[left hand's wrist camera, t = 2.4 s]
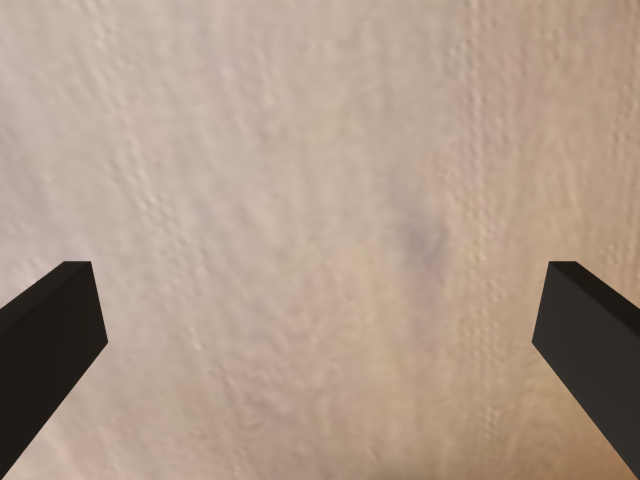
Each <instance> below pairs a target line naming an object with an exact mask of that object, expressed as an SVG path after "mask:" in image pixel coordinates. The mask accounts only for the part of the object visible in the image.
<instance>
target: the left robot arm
mask: <svg viewBox="0 0 640 480" xmlns="http://www.w3.org/2000/svg"><path fill="white" fill-rule="evenodd" d="M107 343H108V339H107V334H106V330H105V325H104V320H103V316H102V311H101V306H100V302H99V297H98V292H97V288H96V283H95V278H94V274H93V269H92V264H91V261H64V262H63V263H61V264H60V265H59V266H57V267H56V268H55V269H53V270H52V271H51V272H49V273H48V274H47V275H45V276H44V277H43V278H41V279H40V280H39V281H37V282H36V283H35V284H33V285H32V286H30V287H29V288H28V289H26V290H25V291H24V292H22V293H21V294H20V295H18V296H17V297H16V298H14V299H13V300H12V301H10V302H9V303H8V304H6V305H5V306H4V307H2V308H1V309H0V480H2V479H3V477H4V476H5V475H6V473H7V472H8V471H9V470H10V468H11V467H12V466H13V464H14V463H15V462H16V461H17V459H18V458H19V457H20V455H21V454H22V453H23V451H24V450H25V449H26V448H27V446H28V445H29V444H30V442H31V441H32V440H33V439H34V437H35V436H36V435H37V433H38V432H39V431H40V430H41V428H42V427H43V426H44V424H45V423H46V422H47V421H48V419H49V418H50V417H51V415H52V414H53V413H54V412H55V410H56V409H57V408H58V406H59V405H60V404H61V403H62V401H63V400H64V399H65V397H66V396H67V395H68V394H69V392H70V391H71V390H72V388H73V387H74V386H75V385H76V383H77V382H78V381H79V379H80V378H81V377H82V376H83V374H84V373H85V372H86V370H87V369H88V368H89V367H90V365H91V364H92V363H93V361H94V360H95V359H96V358H97V356H98V355H99V354H100V352H101V351H102V350H103V349H104V347H105V346H106V345H107ZM532 343H533V345H534V346H535V347H536V349H537V350H538V351H539V352H540V354H541V355H542V356H543V358H544V359H545V360H546V361H547V363H548V364H549V365H550V367H551V368H552V369H553V370H554V372H555V373H556V374H557V376H558V377H559V378H560V379H561V381H562V382H563V383H564V385H565V386H566V387H567V388H568V390H569V391H570V392H571V394H572V395H573V396H574V397H575V399H576V400H577V401H578V403H579V404H580V405H581V406H582V408H583V409H584V410H585V412H586V413H587V414H588V415H589V417H590V418H591V419H592V421H593V422H594V423H595V424H596V426H597V427H598V428H599V430H600V431H601V432H602V433H603V435H604V436H605V437H606V439H607V440H608V441H609V442H610V444H611V445H612V446H613V448H614V449H615V450H616V451H617V453H618V454H619V455H620V457H621V458H622V459H623V461H624V462H625V463H626V464H627V466H628V467H629V468H630V470H631V471H632V472H633V473H634V475H635V476H636V477H637V479H638V480H640V309H639V308H638V307H636V306H635V305H634V304H632V303H631V302H630V301H628V300H627V299H626V298H624V297H623V296H622V295H620V294H619V293H618V292H616V291H615V290H614V289H612V288H611V287H610V286H608V285H607V284H605V283H604V282H603V281H601V280H600V279H599V278H597V277H596V276H595V275H593V274H592V273H591V272H589V271H588V270H587V269H585V268H584V267H583V266H581V265H580V264H579V263H577V262H576V261H549V264H548V269H547V274H546V278H545V283H544V288H543V292H542V297H541V302H540V306H539V311H538V316H537V320H536V325H535V330H534V334H533V339H532Z"/></svg>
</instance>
